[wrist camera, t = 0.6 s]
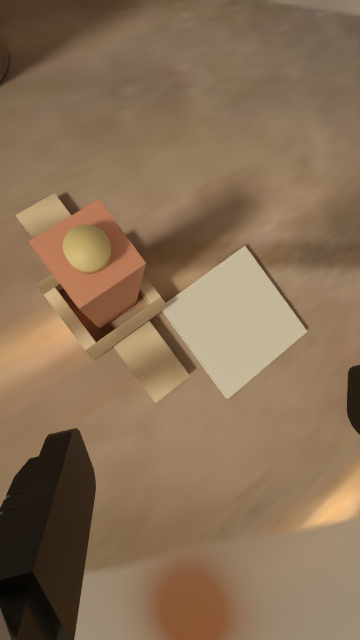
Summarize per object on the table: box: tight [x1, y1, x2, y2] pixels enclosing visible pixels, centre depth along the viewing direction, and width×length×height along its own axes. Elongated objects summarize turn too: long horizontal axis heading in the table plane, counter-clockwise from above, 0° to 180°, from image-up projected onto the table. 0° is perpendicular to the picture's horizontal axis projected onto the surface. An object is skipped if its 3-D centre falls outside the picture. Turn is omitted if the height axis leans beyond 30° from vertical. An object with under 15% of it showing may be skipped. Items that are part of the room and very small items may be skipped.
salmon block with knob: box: [29, 199, 146, 329], centre depth 24 cm, size 4×4×16 cm
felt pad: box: [162, 246, 307, 399], centre depth 34 cm, size 12×12×1 cm
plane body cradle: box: [16, 193, 190, 403], centre depth 31 cm, size 23×9×2 cm, turn 37°
